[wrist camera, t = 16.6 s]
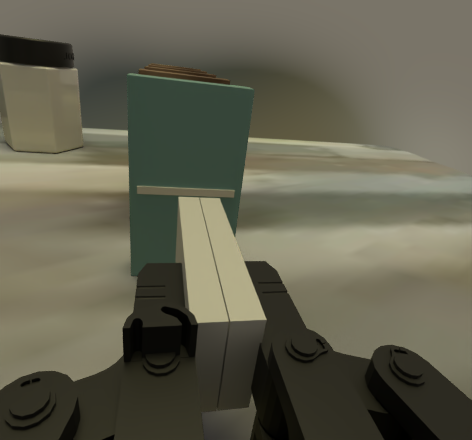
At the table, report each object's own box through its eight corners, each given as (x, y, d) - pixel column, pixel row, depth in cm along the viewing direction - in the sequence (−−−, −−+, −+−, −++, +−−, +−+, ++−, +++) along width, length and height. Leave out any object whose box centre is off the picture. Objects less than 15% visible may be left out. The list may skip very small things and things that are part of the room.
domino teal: (130, 277, 19) (126, 74, 15) (133, 259, 21) (130, 73, 16) (230, 275, 21) (255, 89, 16) (225, 259, 22) (246, 86, 18)
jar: (91, 151, 42) (84, 45, 37) (17, 156, 36) (-3, 33, 31) (67, 135, 47) (58, 42, 42) (0, 138, 42) (-20, 31, 37)
